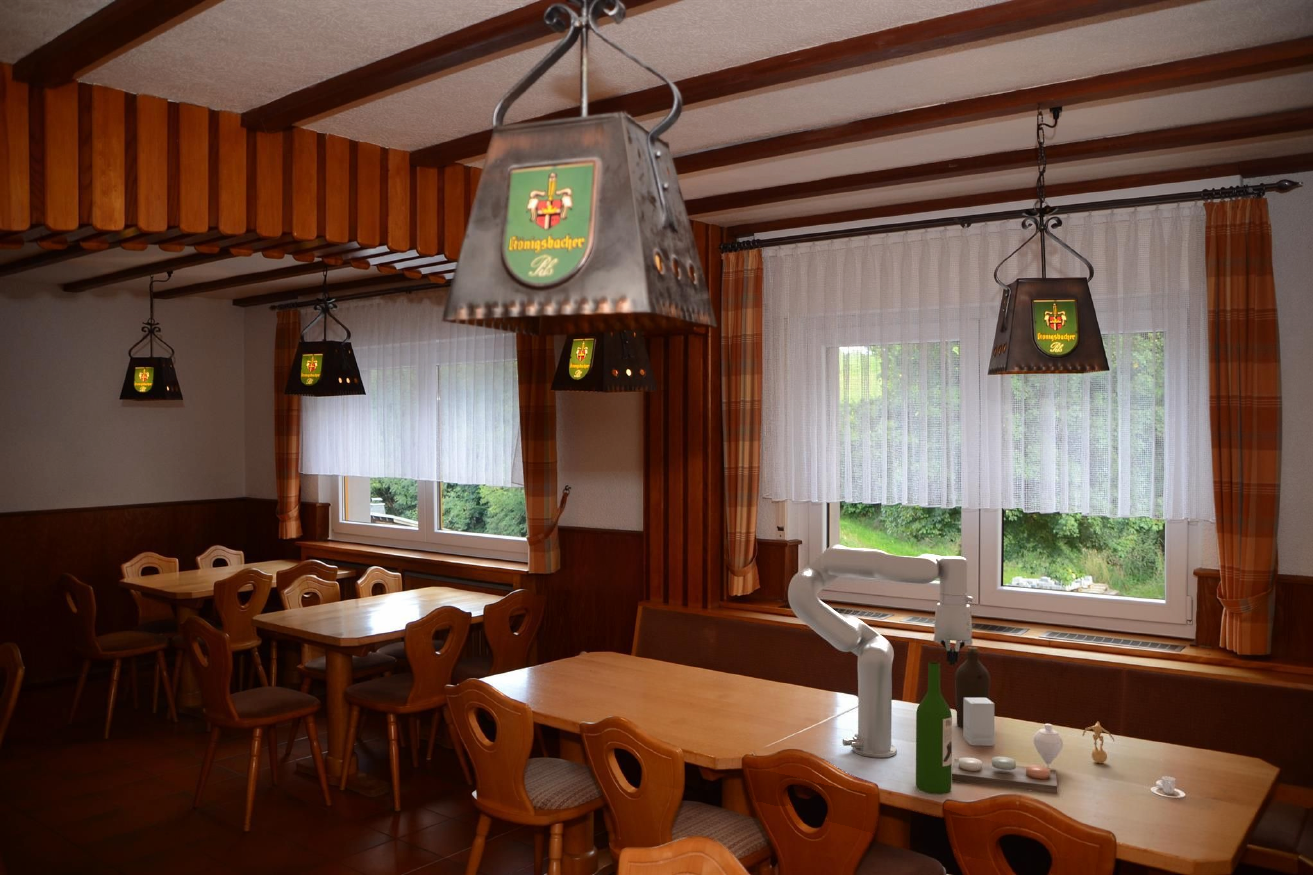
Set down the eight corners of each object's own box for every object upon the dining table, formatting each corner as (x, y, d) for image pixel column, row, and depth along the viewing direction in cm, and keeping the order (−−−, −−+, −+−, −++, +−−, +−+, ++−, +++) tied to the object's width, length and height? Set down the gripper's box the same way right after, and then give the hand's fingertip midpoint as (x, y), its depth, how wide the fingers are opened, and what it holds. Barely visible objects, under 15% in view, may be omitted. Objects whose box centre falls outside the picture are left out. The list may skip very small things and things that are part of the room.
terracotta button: (1035, 779, 251) (1035, 773, 251) (1020, 771, 257) (1020, 765, 257) (1055, 777, 253) (1055, 771, 253) (1040, 770, 259) (1040, 764, 259)
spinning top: (1033, 770, 265) (1033, 726, 265) (1032, 761, 273) (1033, 719, 273) (1063, 773, 263) (1063, 729, 263) (1062, 764, 270) (1062, 722, 270)
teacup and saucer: (1155, 785, 255) (1155, 769, 255) (1188, 792, 250) (1189, 776, 250) (1147, 794, 249) (1147, 778, 249) (1181, 801, 244) (1181, 785, 244)
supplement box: (995, 746, 286) (995, 703, 287) (970, 745, 287) (970, 703, 287) (987, 738, 294) (987, 697, 294) (962, 738, 294) (962, 696, 294)
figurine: (1116, 763, 271) (1116, 721, 271) (1112, 769, 266) (1112, 726, 266) (1085, 758, 276) (1085, 716, 276) (1080, 763, 271) (1080, 721, 271)
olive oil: (996, 727, 306) (997, 648, 306) (976, 732, 299) (977, 652, 300) (967, 719, 314) (968, 642, 314) (947, 724, 308) (948, 646, 308)
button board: (1057, 793, 247) (1057, 786, 247) (951, 781, 256) (951, 773, 256) (1054, 777, 259) (1054, 770, 260) (954, 765, 268) (954, 758, 268)
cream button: (967, 771, 257) (967, 765, 257) (954, 764, 263) (954, 758, 263) (986, 769, 259) (986, 763, 259) (973, 762, 264) (973, 756, 264)
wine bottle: (946, 796, 245) (946, 668, 245) (911, 789, 249) (912, 664, 250) (955, 786, 252) (956, 662, 252) (921, 779, 257) (922, 657, 257)
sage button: (1001, 770, 254) (1001, 764, 254) (987, 763, 260) (987, 757, 260) (1020, 768, 256) (1020, 762, 256) (1006, 761, 262) (1006, 755, 262)
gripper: (981, 599, 275) (980, 663, 275) (927, 596, 280) (926, 659, 280) (980, 603, 268) (980, 669, 268) (925, 600, 273) (924, 664, 273)
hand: (952, 664), depth 274 cm, fingers closed
